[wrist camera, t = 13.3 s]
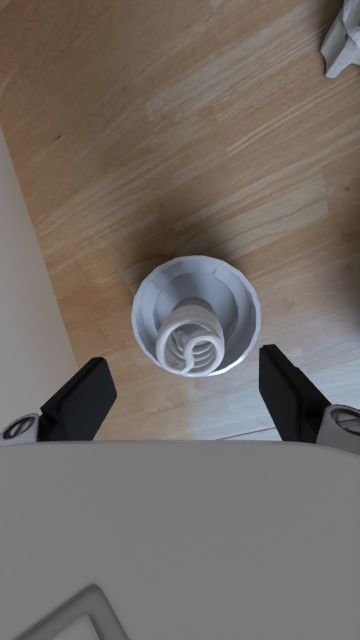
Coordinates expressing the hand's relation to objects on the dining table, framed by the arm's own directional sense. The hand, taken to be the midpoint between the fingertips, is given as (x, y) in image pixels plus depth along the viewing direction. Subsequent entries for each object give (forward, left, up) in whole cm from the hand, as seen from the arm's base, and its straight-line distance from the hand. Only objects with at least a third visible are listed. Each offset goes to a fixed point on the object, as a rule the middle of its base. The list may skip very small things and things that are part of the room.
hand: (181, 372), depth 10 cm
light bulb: (0, 0, -14) cm, 14 cm away
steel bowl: (0, 0, -15) cm, 15 cm away
